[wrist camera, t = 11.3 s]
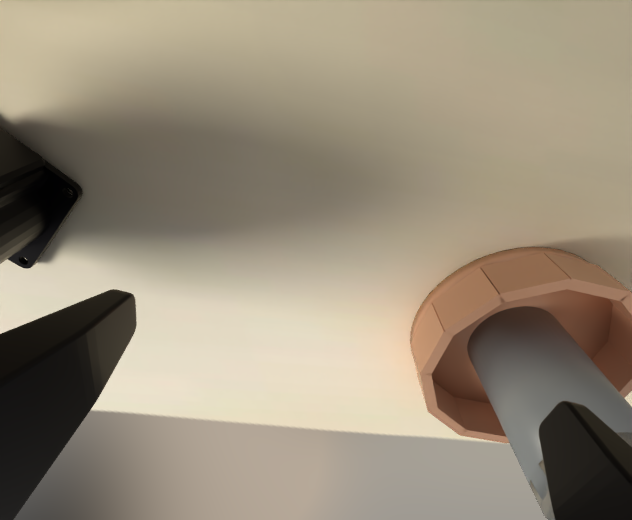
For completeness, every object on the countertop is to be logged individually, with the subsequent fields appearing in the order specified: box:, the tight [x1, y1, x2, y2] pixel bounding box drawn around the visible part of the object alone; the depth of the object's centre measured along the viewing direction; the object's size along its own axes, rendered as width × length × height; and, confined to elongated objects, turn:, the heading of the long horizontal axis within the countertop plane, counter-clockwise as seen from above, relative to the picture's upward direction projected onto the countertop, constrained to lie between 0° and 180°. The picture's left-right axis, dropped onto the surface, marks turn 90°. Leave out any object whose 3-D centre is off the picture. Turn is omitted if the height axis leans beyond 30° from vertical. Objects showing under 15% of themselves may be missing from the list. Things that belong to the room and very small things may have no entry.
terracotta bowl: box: [410, 247, 632, 443], centre depth 22 cm, size 12×12×4 cm
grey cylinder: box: [467, 306, 632, 520], centre depth 19 cm, size 6×6×9 cm
